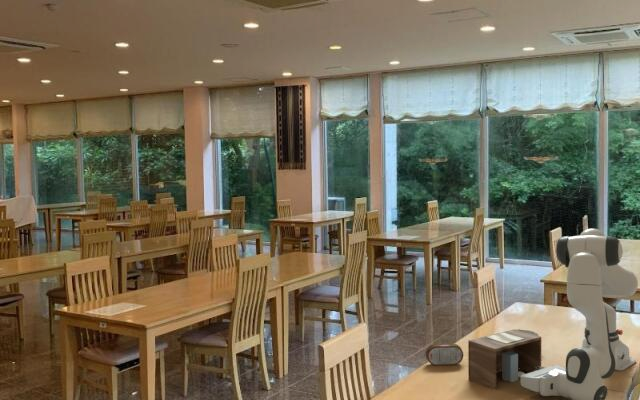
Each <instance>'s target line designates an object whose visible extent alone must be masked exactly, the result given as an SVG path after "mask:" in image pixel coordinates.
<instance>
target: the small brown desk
mask: <svg viewBox="0 0 640 400" xmlns="http://www.w3.org/2000/svg"><path fill="white" fill-rule="evenodd" d="M467 343H468V344H467V346H468V351H467V352H468V354H467V355H468V365H467V366H468V370H467V371H468V380H469V381H471V382H474V383H476V384H478V385H481V386H484V387H487V388H490V389H491V390H494V391H495V390H497V374H498V373H499V372H502V353H504V352H508V351H511V352H514V353H517V354H518V370H520V371H521V370H522V371H523V372H527V373H530V372H534V371H535V370H534V369H535V368H534V367H536V366H540V367H542V336H540V335H539V336H537V335H533V334H530V333H526V332H522V331H519V330H518V329H511V330H506V331H503V332H497V333H494V334H490V335H485V336H482V337H477V338H474V339H469V340H468V341H467Z"/></svg>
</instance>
